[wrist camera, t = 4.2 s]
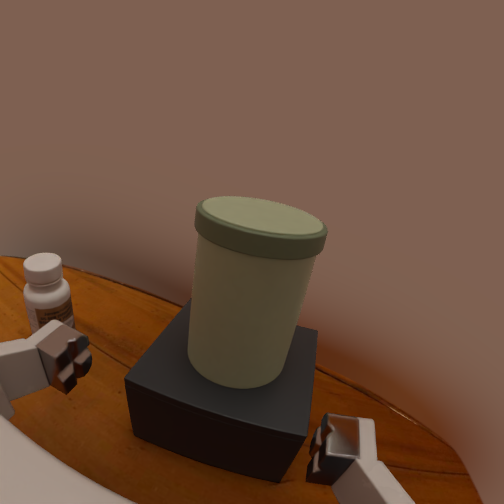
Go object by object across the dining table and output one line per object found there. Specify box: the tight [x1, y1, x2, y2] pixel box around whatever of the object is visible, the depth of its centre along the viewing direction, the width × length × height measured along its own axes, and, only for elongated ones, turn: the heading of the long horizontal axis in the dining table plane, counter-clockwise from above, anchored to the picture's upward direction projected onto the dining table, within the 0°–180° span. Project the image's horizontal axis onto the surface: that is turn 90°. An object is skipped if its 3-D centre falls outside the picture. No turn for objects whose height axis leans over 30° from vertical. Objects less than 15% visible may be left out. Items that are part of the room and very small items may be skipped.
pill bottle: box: [23, 253, 76, 334], centre depth 22 cm, size 4×4×8 cm
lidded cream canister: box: [188, 196, 328, 389], centre depth 17 cm, size 6×6×9 cm
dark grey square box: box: [124, 298, 318, 483], centre depth 19 cm, size 10×10×6 cm
